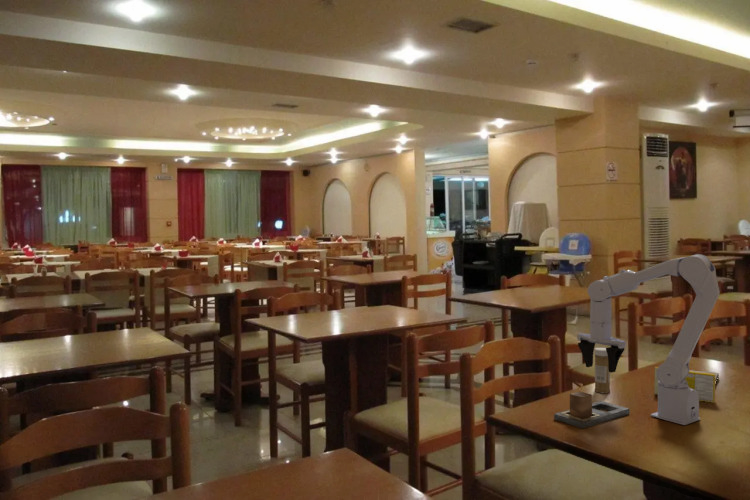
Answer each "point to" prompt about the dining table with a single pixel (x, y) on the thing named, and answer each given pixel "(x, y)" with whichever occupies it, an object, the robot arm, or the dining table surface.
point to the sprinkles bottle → (601, 371)
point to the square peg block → (581, 405)
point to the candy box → (697, 385)
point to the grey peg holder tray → (593, 415)
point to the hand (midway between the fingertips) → (600, 369)
